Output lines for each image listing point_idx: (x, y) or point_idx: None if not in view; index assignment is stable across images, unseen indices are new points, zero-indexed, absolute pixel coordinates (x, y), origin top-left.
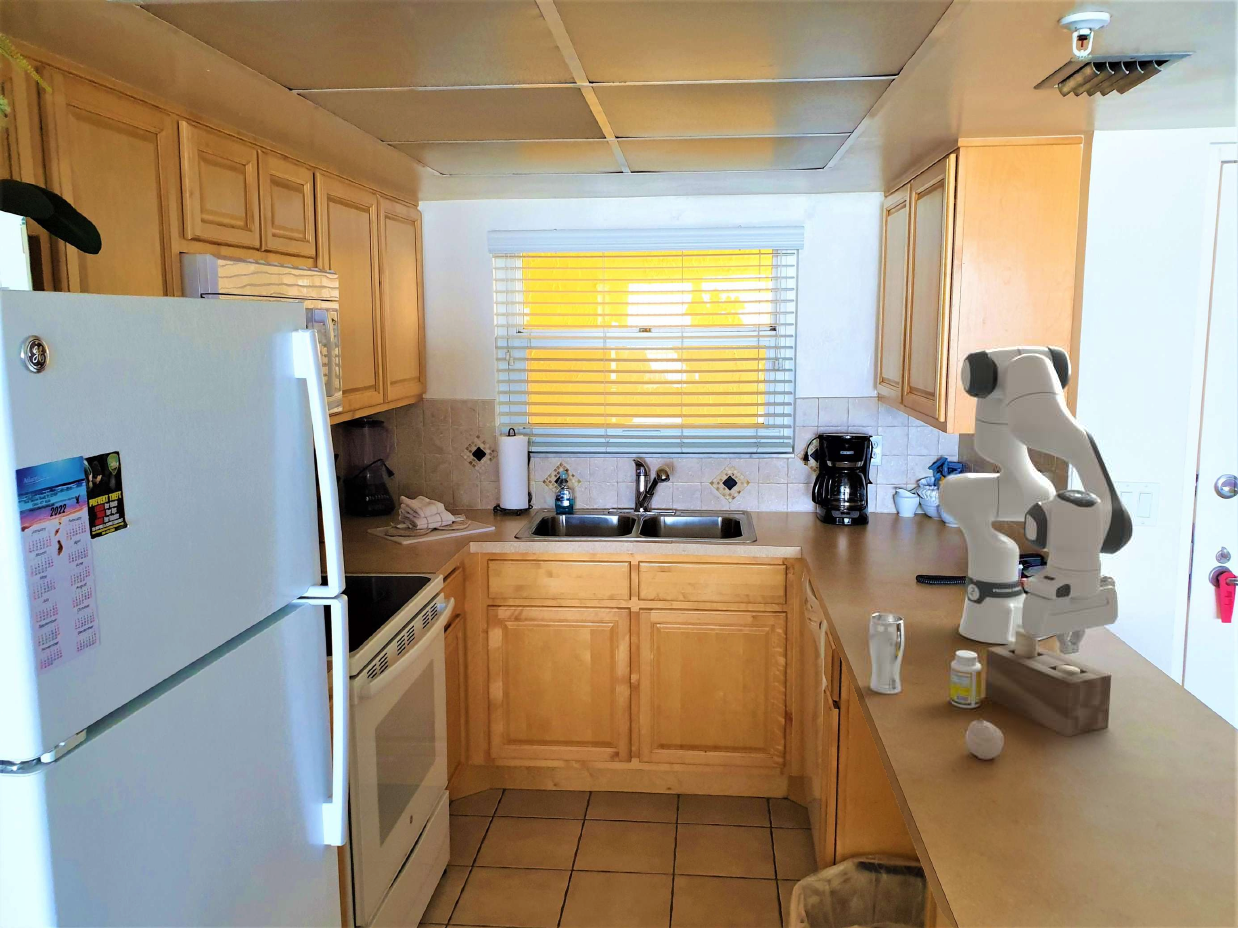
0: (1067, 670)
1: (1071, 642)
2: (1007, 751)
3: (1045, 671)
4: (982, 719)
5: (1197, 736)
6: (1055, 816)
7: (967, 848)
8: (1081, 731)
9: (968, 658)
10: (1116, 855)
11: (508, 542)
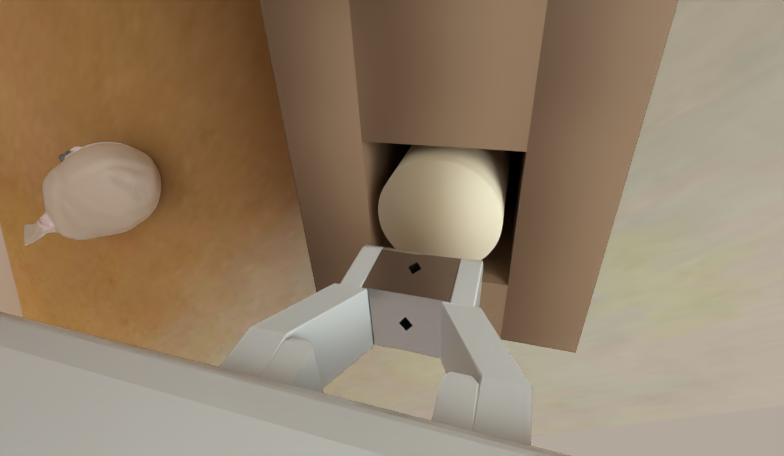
0: (416, 230)
1: (439, 324)
2: (200, 179)
3: (309, 176)
4: (30, 243)
5: (727, 361)
6: (178, 341)
7: (56, 321)
8: None
9: None
10: None
11: None
